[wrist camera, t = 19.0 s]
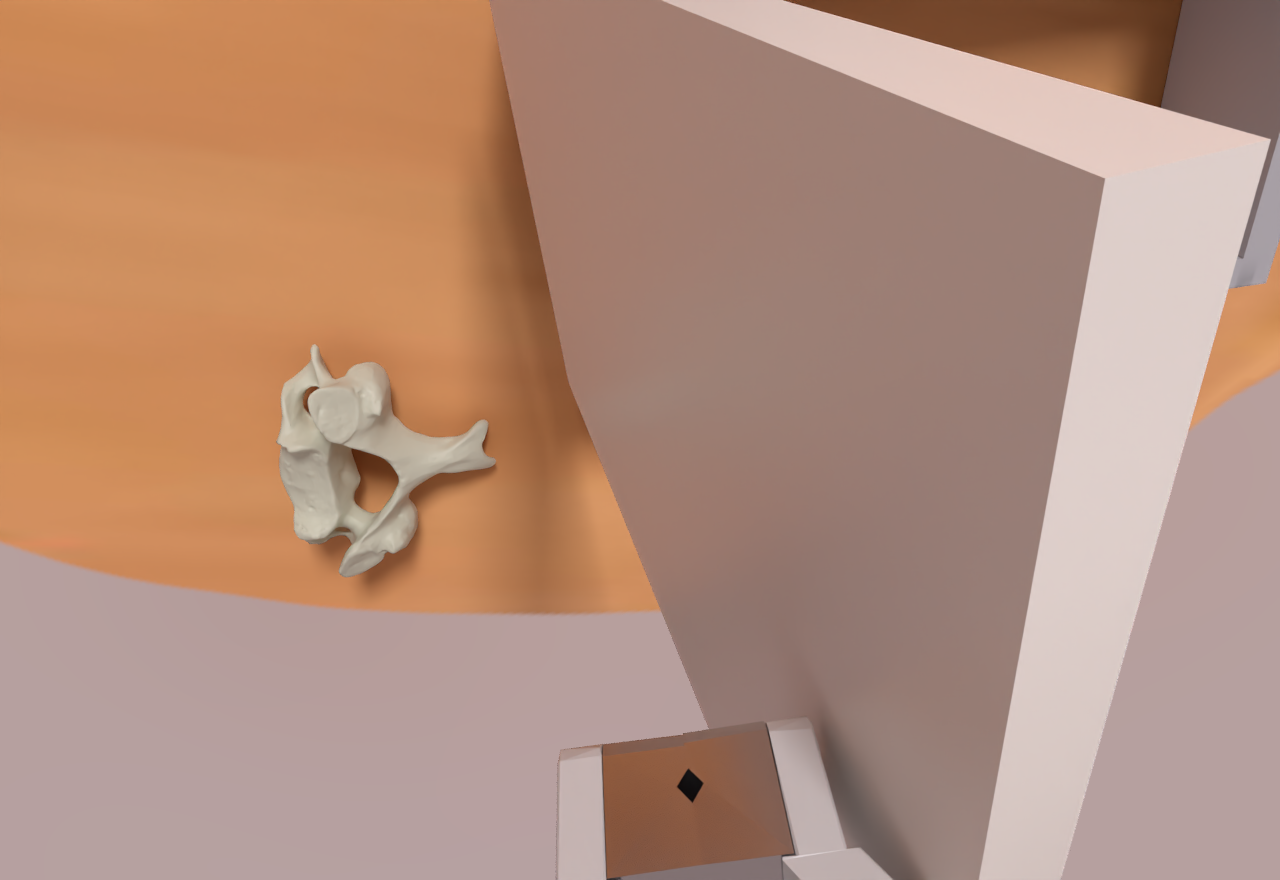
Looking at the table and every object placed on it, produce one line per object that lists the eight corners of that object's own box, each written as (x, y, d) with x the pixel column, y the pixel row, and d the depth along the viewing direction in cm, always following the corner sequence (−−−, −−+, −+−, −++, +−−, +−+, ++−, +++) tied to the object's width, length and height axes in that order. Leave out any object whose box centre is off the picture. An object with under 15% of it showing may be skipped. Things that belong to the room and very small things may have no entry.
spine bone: (496, 510, 48) (511, 567, 44) (306, 543, 45) (304, 606, 41) (476, 311, 41) (492, 356, 37) (252, 336, 39) (244, 387, 35)
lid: (588, 377, 33) (568, 382, 33) (501, -80, 24) (473, -76, 24) (966, 1215, 12) (914, 1236, 12) (1268, 139, 4) (1105, 178, 4)
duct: (589, 305, 40) (593, 383, 34) (513, -115, 30) (501, -106, 24) (1163, 219, 39) (1266, 283, 33) (1264, -234, 30) (1432, -255, 24)
